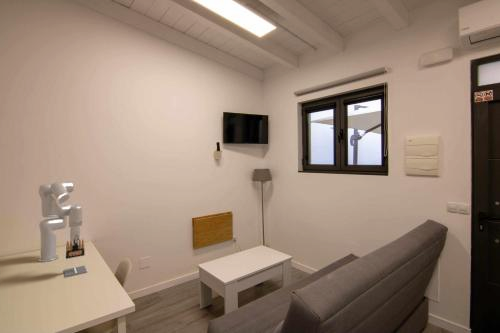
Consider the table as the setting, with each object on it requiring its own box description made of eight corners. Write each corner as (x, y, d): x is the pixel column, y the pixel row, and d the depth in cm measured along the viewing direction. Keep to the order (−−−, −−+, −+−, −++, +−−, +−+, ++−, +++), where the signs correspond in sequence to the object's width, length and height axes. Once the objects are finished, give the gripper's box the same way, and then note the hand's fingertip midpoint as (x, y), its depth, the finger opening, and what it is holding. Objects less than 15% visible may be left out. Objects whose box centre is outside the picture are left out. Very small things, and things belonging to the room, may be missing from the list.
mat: (63, 270, 175) (63, 269, 175) (84, 266, 183) (84, 265, 183) (65, 277, 165) (65, 276, 165) (86, 272, 172) (86, 271, 172)
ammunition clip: (84, 254, 178) (84, 237, 178) (84, 255, 177) (84, 238, 177) (65, 258, 171) (65, 240, 171) (65, 258, 170) (66, 241, 170)
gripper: (68, 222, 178) (67, 248, 178) (69, 226, 166) (69, 254, 166) (80, 221, 183) (80, 246, 183) (83, 225, 170) (83, 252, 170)
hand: (75, 250), depth 174 cm, fingers closed on ammunition clip, 1 cm apart
